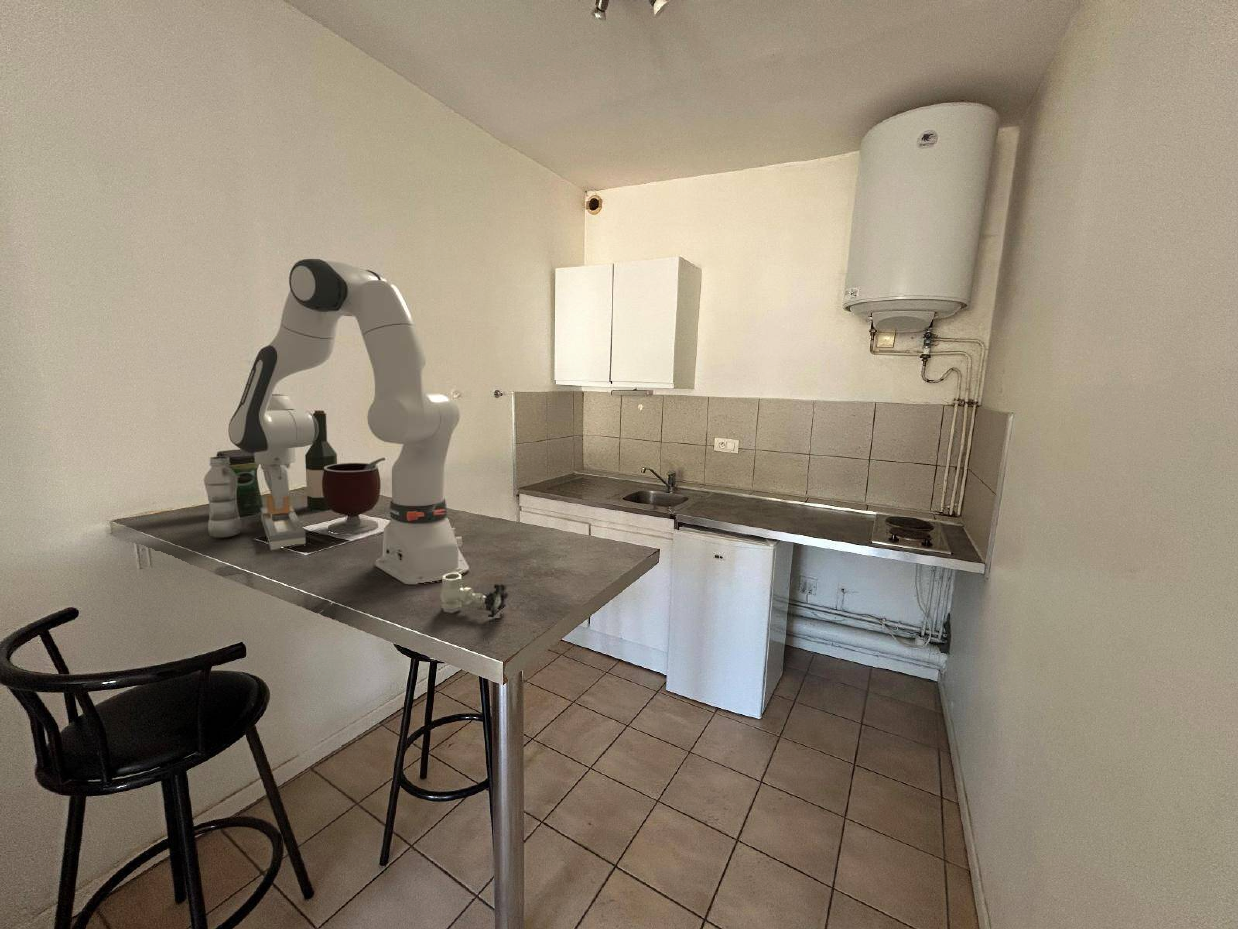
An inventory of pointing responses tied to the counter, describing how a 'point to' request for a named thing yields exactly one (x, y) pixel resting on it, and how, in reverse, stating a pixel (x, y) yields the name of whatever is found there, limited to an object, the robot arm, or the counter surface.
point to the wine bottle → (318, 465)
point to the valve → (469, 594)
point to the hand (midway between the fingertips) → (278, 506)
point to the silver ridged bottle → (222, 498)
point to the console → (283, 530)
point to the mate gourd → (352, 494)
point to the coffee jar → (245, 480)
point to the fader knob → (278, 513)
